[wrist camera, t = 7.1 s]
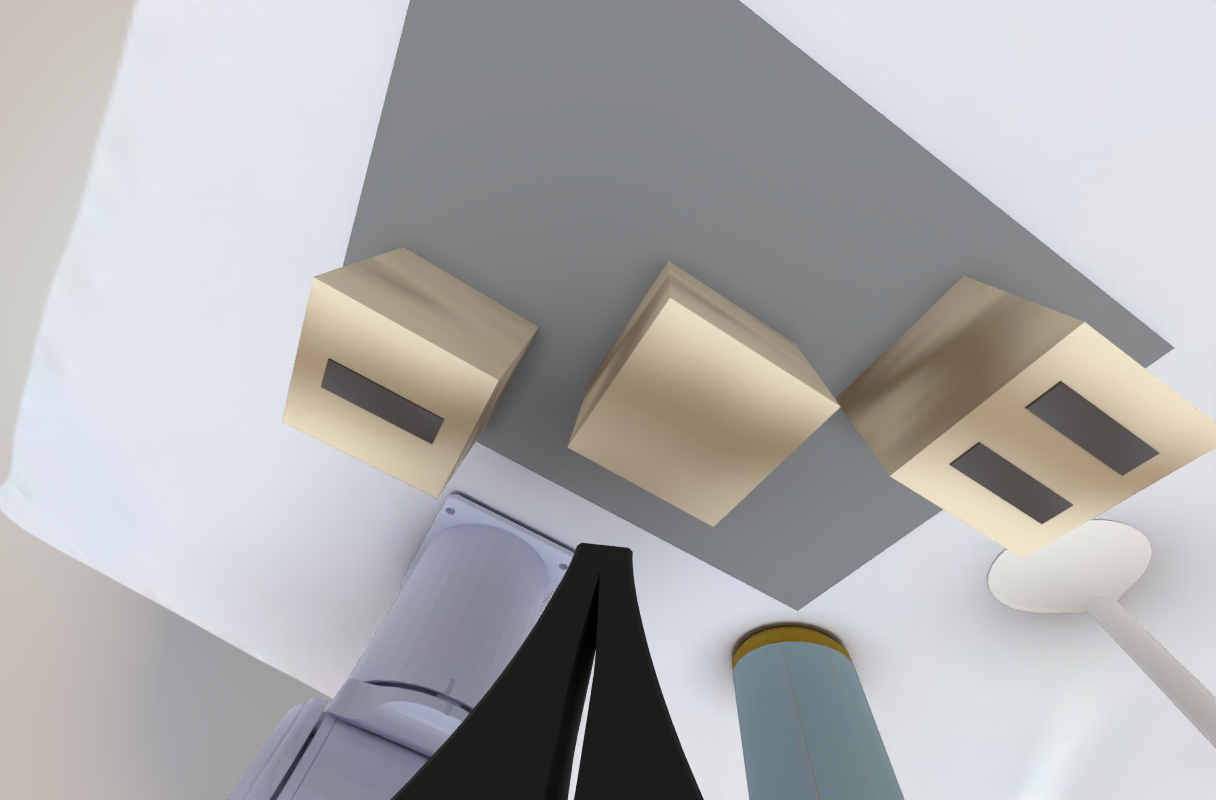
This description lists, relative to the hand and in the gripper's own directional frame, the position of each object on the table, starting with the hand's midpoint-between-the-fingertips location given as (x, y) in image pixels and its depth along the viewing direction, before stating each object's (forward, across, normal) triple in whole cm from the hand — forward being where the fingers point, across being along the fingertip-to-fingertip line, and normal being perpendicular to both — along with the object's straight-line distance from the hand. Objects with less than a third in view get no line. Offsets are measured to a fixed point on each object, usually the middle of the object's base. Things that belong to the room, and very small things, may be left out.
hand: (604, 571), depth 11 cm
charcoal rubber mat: (+9, -3, -3) cm, 10 cm away
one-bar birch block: (+9, +8, -2) cm, 12 cm away
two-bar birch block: (+9, -13, -2) cm, 16 cm away
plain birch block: (+9, -2, -2) cm, 10 cm away
